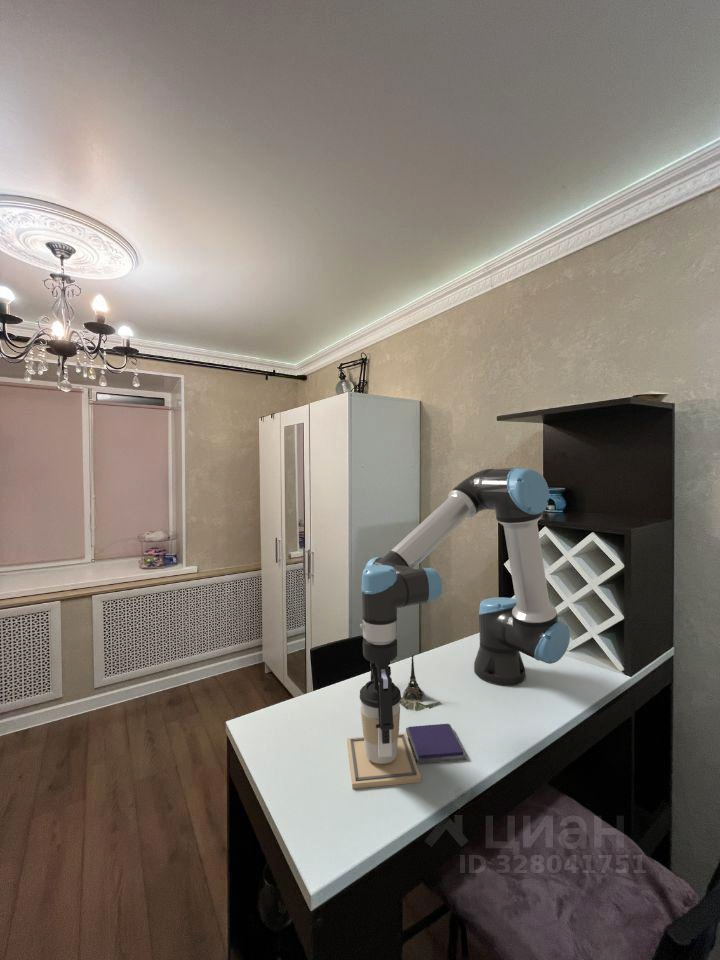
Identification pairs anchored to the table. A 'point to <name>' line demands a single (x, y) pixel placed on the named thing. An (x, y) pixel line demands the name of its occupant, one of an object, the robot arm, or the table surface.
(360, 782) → the square wooden board
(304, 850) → the table surface
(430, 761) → the ink pad
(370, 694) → the coffee cup
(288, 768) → the table surface
